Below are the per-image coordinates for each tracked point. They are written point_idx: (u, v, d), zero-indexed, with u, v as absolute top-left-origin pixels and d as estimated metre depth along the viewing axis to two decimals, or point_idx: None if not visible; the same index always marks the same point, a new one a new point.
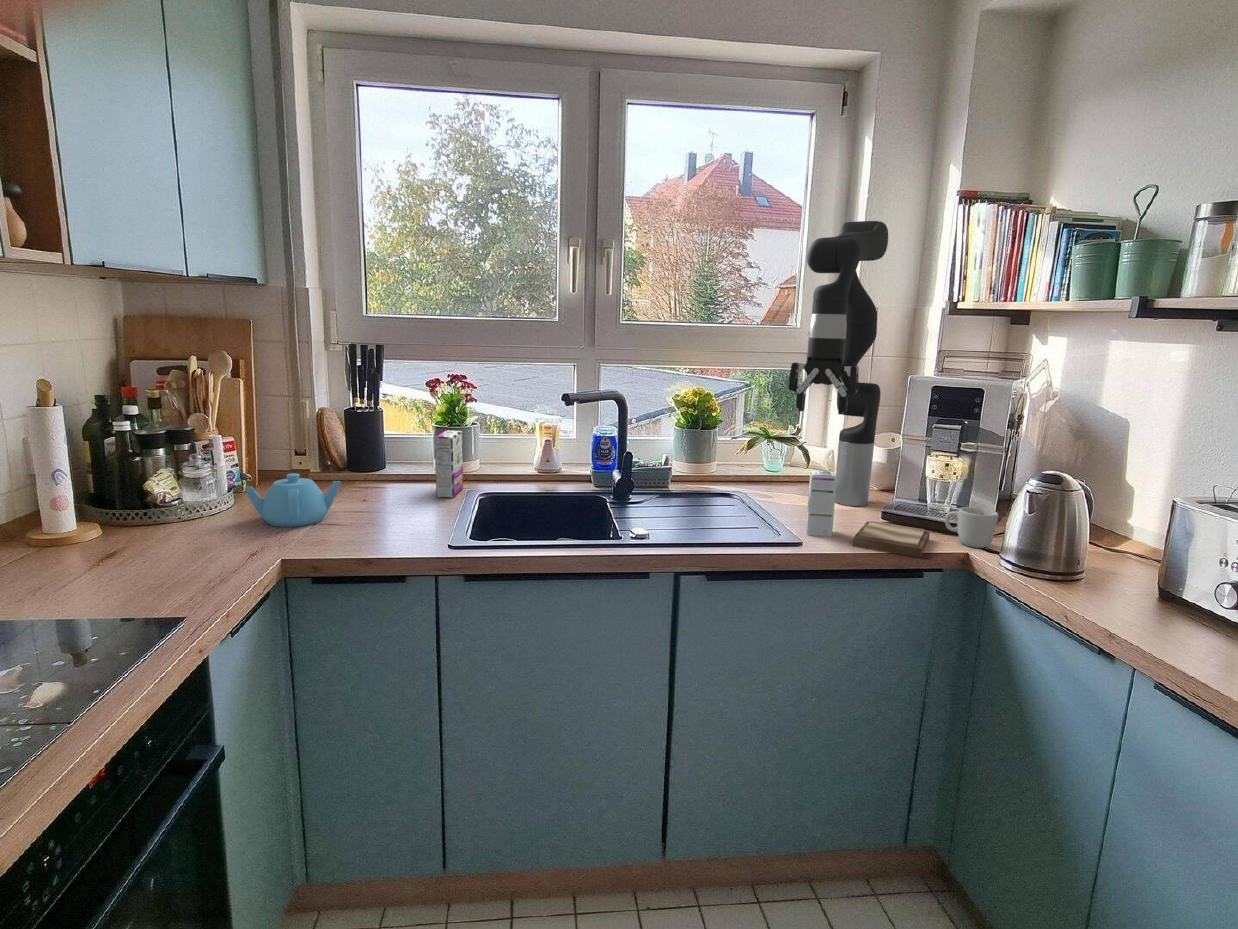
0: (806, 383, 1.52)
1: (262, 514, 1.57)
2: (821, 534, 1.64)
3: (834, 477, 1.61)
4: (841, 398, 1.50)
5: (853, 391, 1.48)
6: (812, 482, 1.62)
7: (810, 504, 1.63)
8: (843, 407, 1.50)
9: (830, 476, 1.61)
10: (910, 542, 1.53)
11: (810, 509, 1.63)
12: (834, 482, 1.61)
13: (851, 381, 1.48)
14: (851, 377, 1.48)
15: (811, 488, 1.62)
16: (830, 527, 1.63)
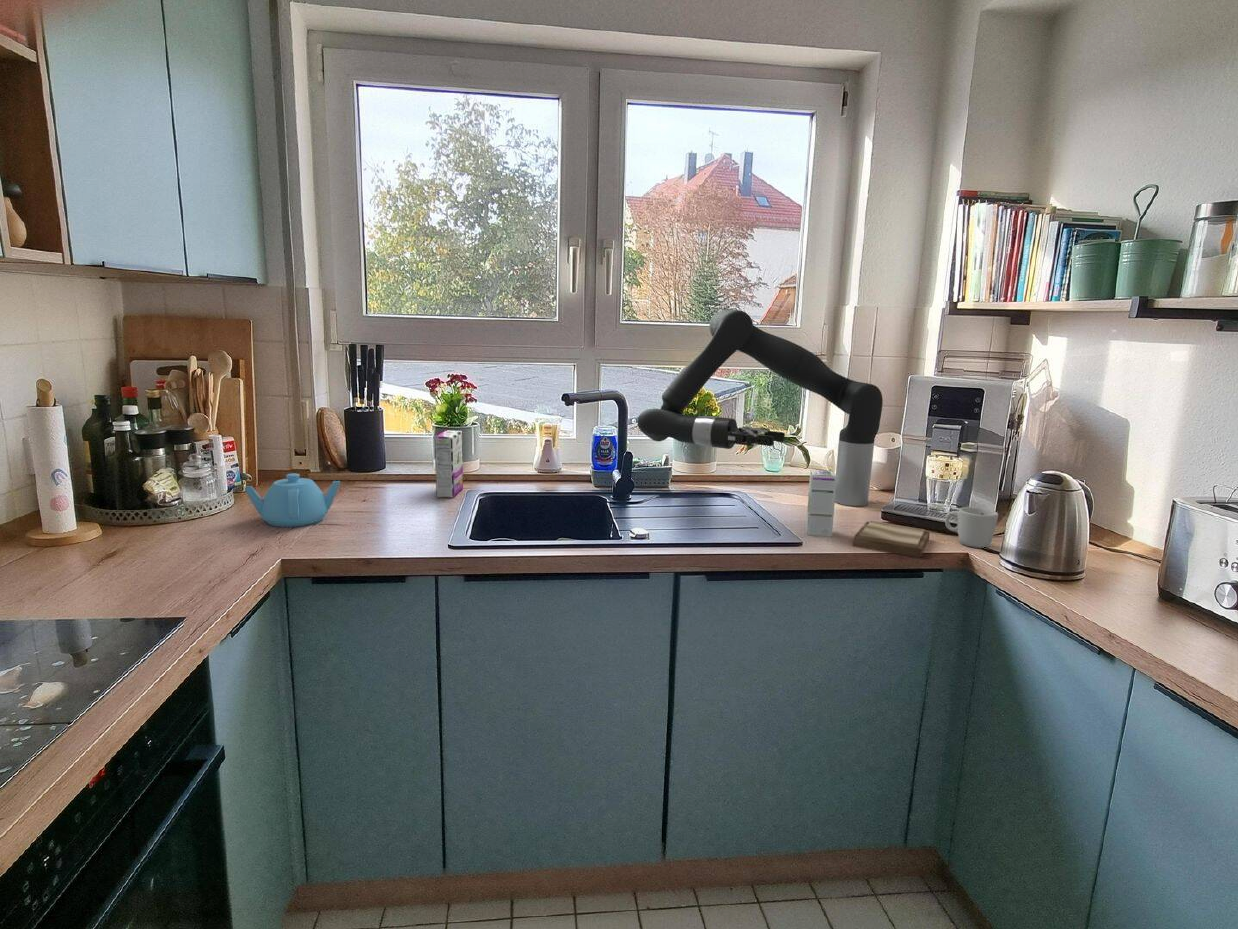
0: None
1: (262, 514, 1.57)
2: (821, 534, 1.64)
3: (834, 477, 1.61)
4: (758, 444, 1.66)
5: (748, 445, 1.65)
6: (812, 482, 1.62)
7: (810, 504, 1.63)
8: (765, 444, 1.64)
9: (830, 476, 1.61)
10: (910, 542, 1.53)
11: (810, 509, 1.63)
12: (834, 482, 1.61)
13: None
14: None
15: (811, 488, 1.62)
16: (830, 527, 1.63)
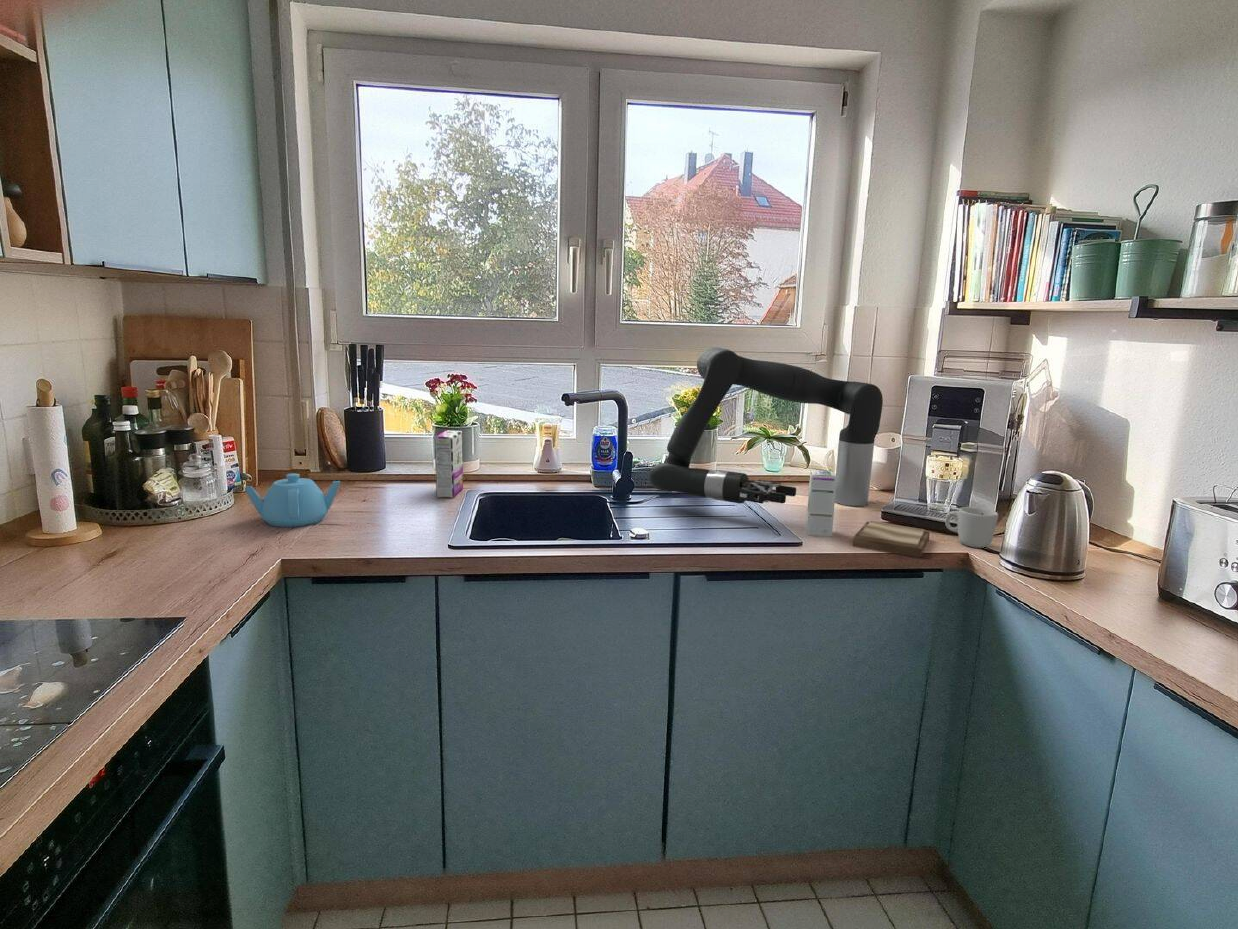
0: None
1: (262, 514, 1.57)
2: (821, 534, 1.64)
3: (834, 477, 1.61)
4: None
5: (760, 503, 1.66)
6: (812, 482, 1.62)
7: (810, 504, 1.63)
8: None
9: (830, 476, 1.61)
10: (910, 542, 1.53)
11: (810, 509, 1.63)
12: (834, 482, 1.61)
13: None
14: None
15: (811, 488, 1.62)
16: (830, 527, 1.63)
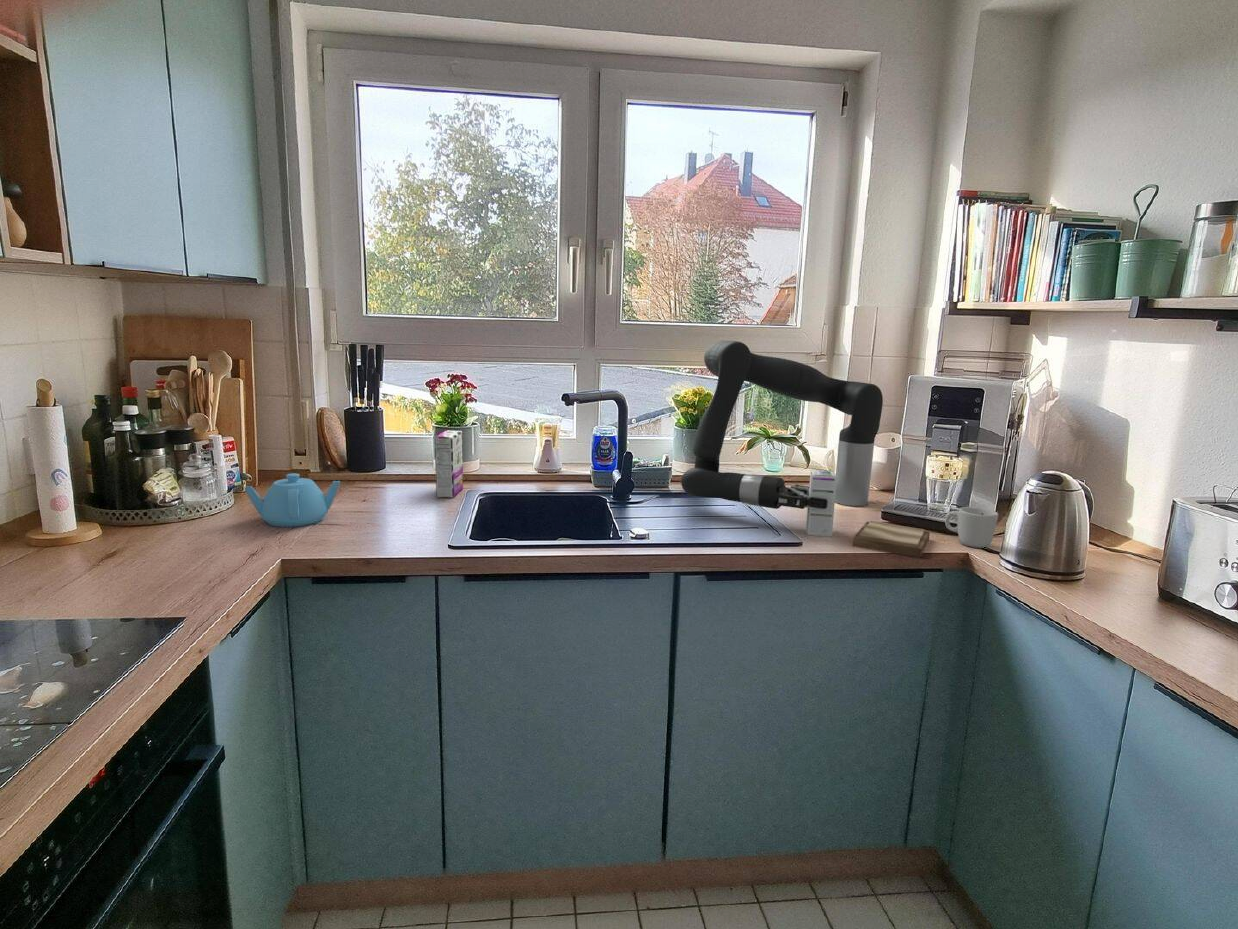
0: None
1: (262, 514, 1.57)
2: (821, 534, 1.64)
3: (834, 477, 1.61)
4: None
5: (801, 508, 1.61)
6: (812, 482, 1.62)
7: None
8: (819, 506, 1.61)
9: (830, 476, 1.61)
10: (910, 542, 1.53)
11: (810, 509, 1.63)
12: (834, 482, 1.61)
13: None
14: None
15: (811, 488, 1.62)
16: (830, 527, 1.63)
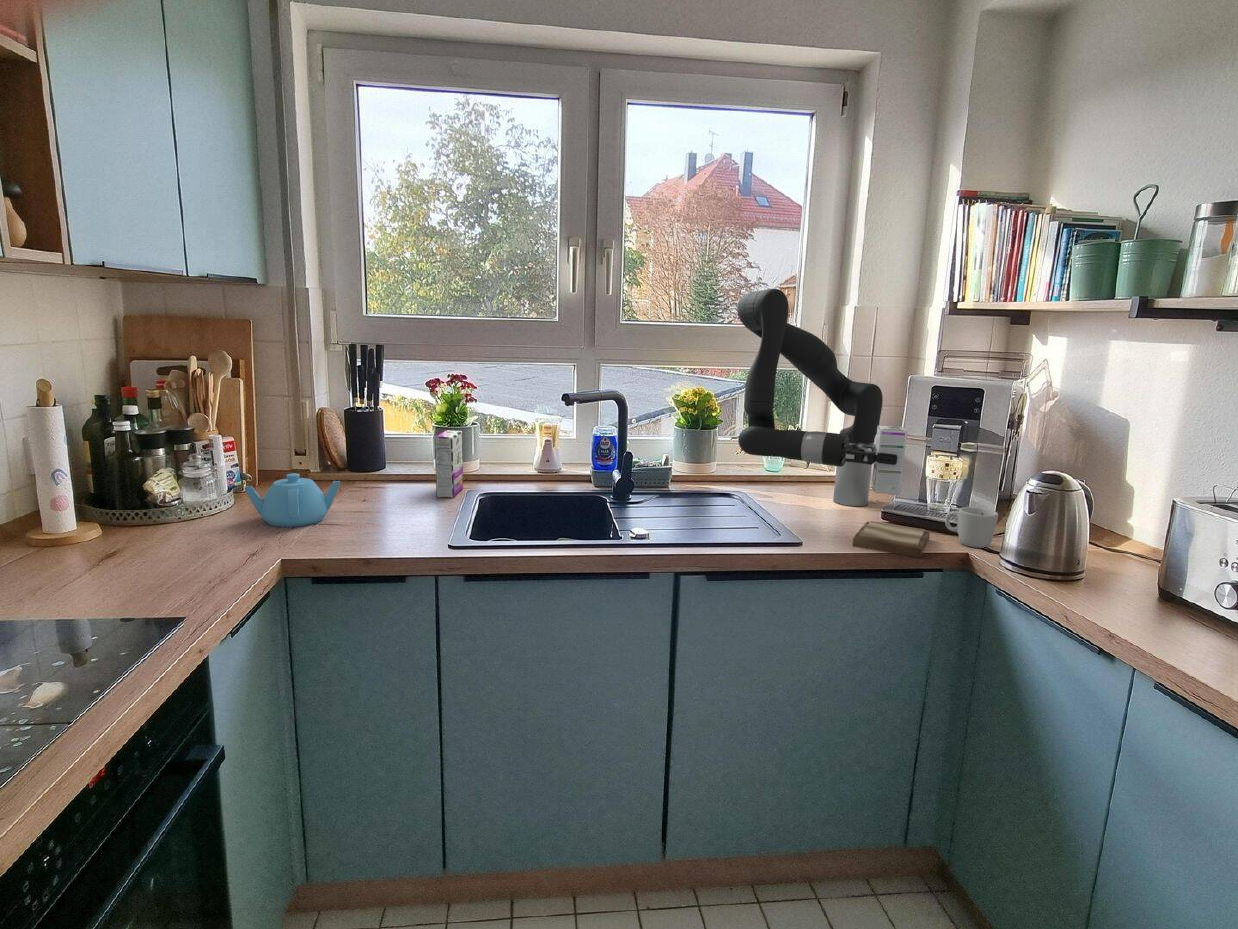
0: None
1: (262, 514, 1.57)
2: (889, 492, 1.56)
3: (904, 431, 1.53)
4: (879, 462, 1.55)
5: (869, 464, 1.54)
6: (881, 437, 1.55)
7: None
8: (888, 462, 1.54)
9: (900, 430, 1.54)
10: (910, 542, 1.53)
11: (878, 465, 1.56)
12: (904, 437, 1.54)
13: None
14: None
15: (880, 443, 1.55)
16: (899, 484, 1.56)
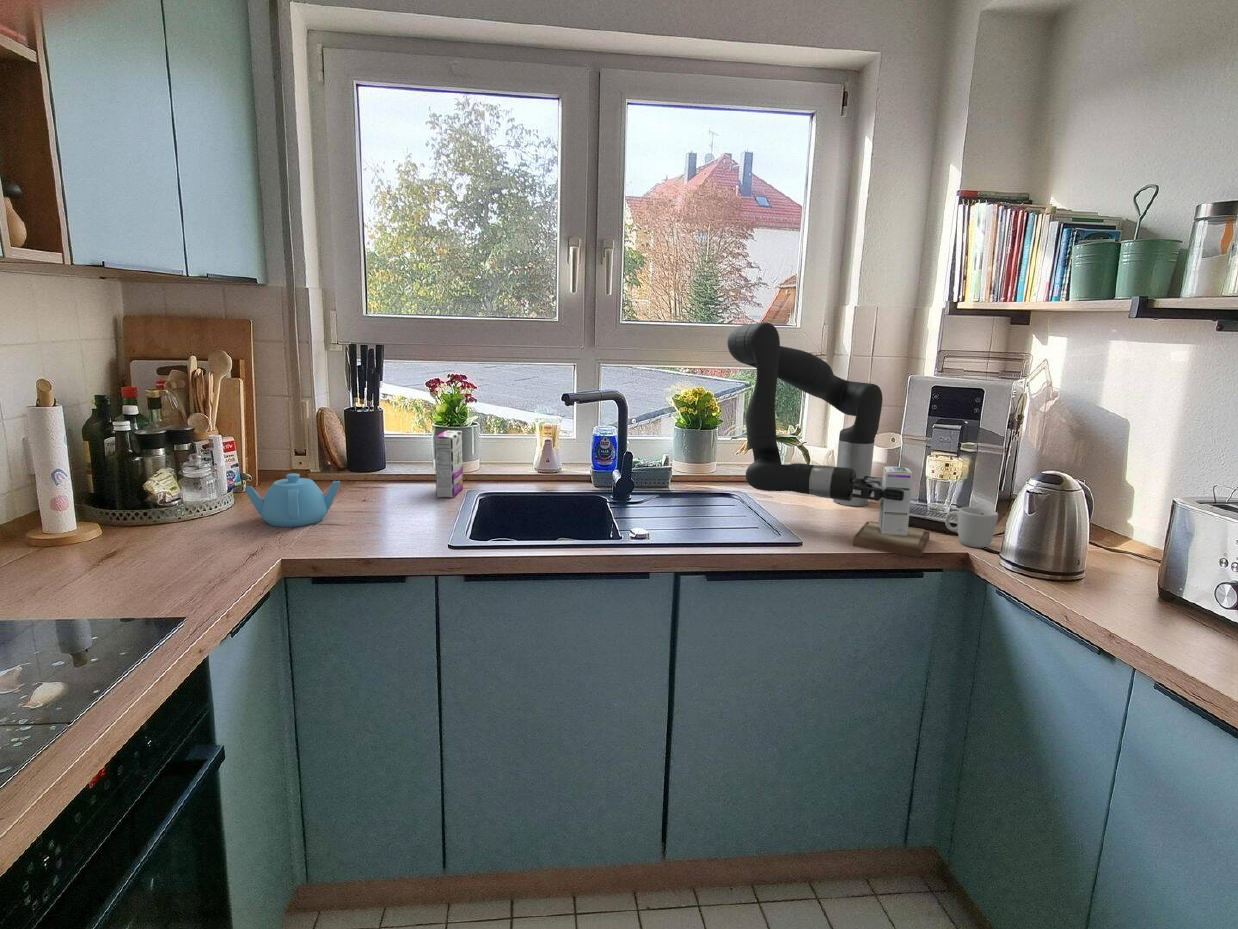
0: None
1: (262, 514, 1.57)
2: (896, 533, 1.57)
3: (910, 474, 1.54)
4: None
5: (876, 500, 1.54)
6: (887, 480, 1.55)
7: (884, 502, 1.57)
8: (895, 498, 1.54)
9: (906, 473, 1.54)
10: (910, 542, 1.53)
11: (884, 507, 1.57)
12: (910, 479, 1.54)
13: None
14: None
15: (885, 485, 1.56)
16: (905, 525, 1.57)
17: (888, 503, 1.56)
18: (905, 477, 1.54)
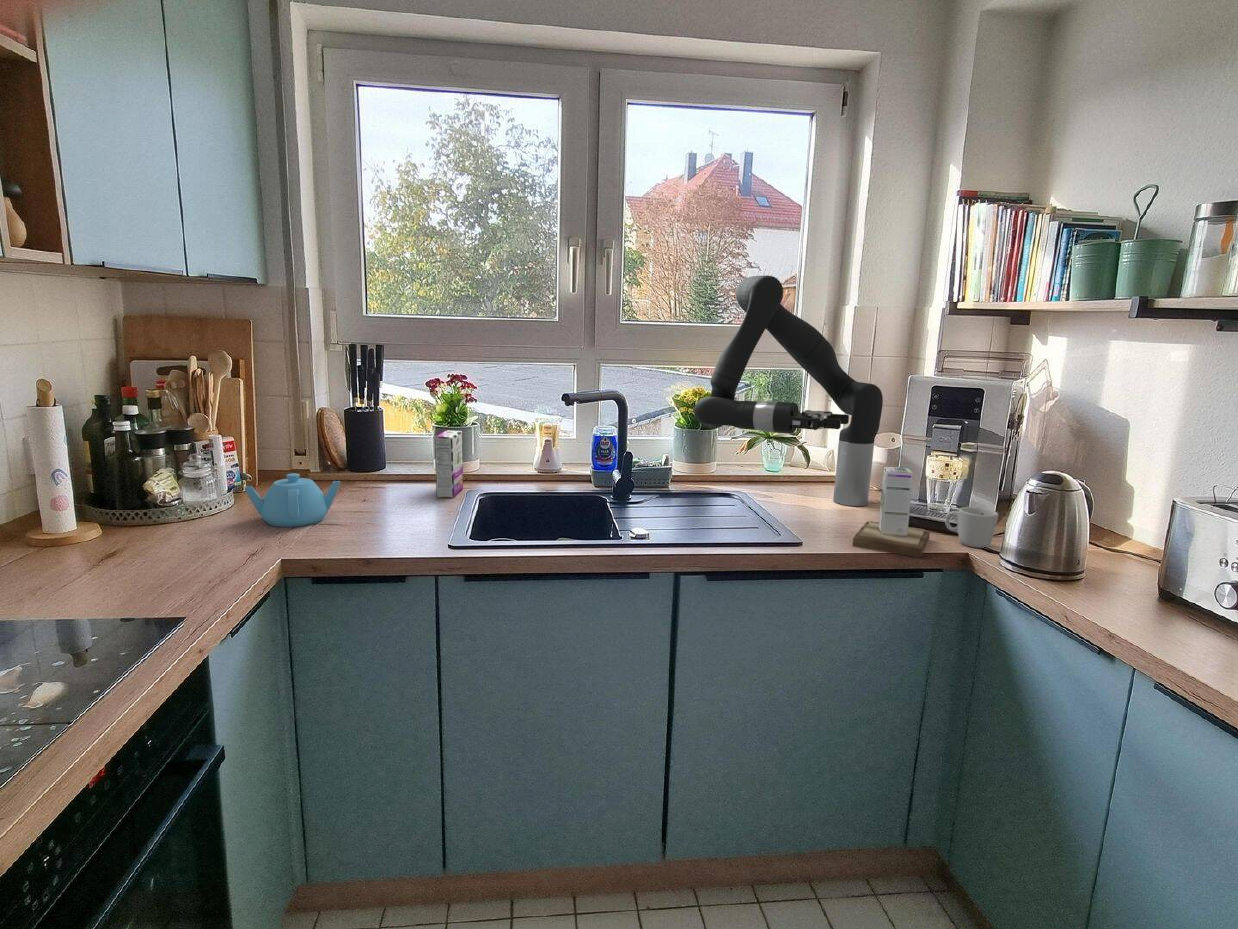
0: None
1: (262, 514, 1.57)
2: (896, 533, 1.57)
3: (911, 474, 1.54)
4: None
5: (814, 429, 1.60)
6: (887, 479, 1.56)
7: (885, 502, 1.57)
8: None
9: (906, 473, 1.55)
10: (910, 542, 1.53)
11: (884, 507, 1.57)
12: (911, 479, 1.55)
13: None
14: None
15: (886, 485, 1.56)
16: (905, 526, 1.57)
17: (888, 503, 1.57)
18: (905, 477, 1.55)
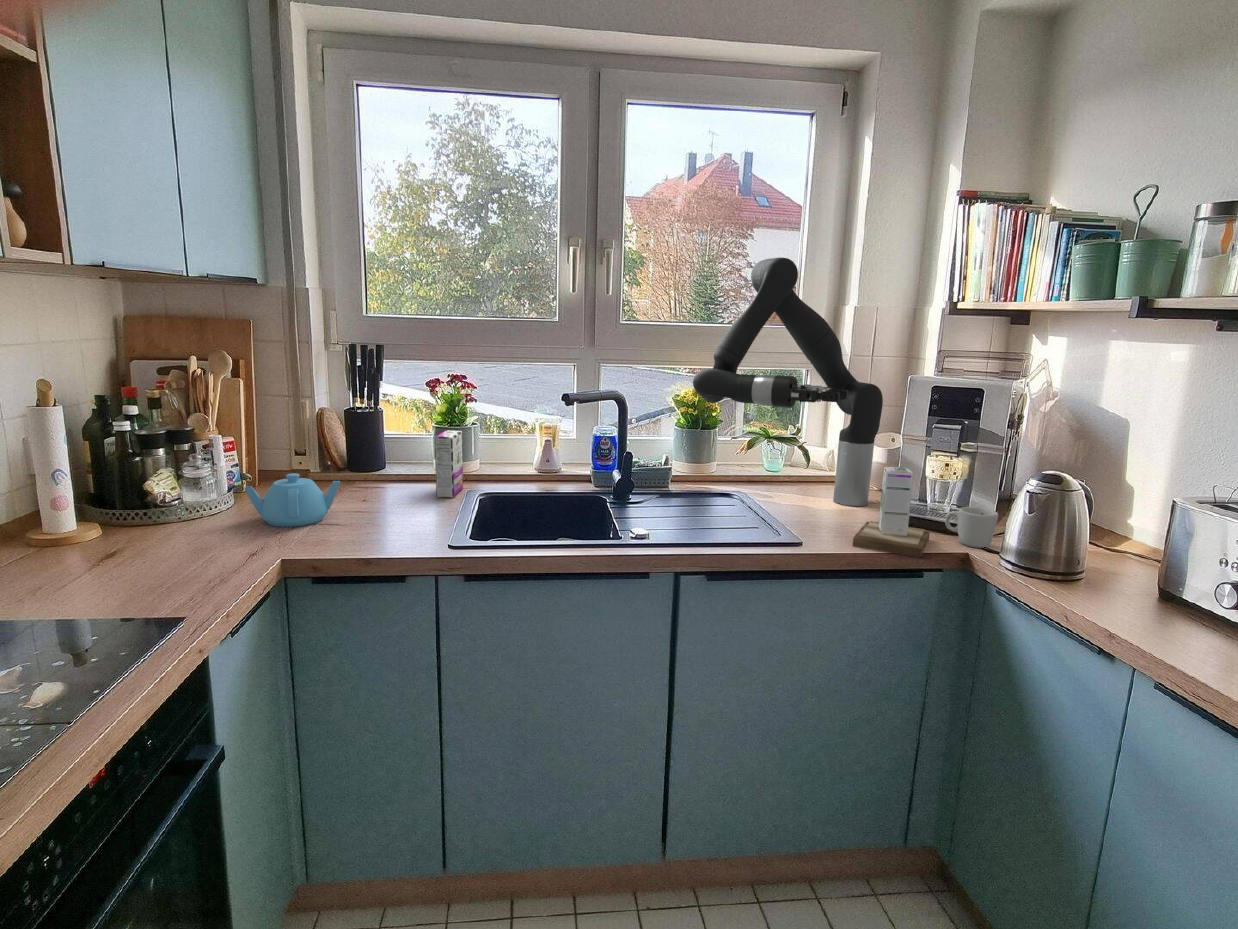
0: None
1: (262, 514, 1.57)
2: (896, 533, 1.57)
3: (911, 474, 1.54)
4: None
5: None
6: (887, 479, 1.56)
7: (885, 502, 1.57)
8: (831, 400, 1.60)
9: (906, 473, 1.55)
10: (910, 542, 1.53)
11: (884, 507, 1.57)
12: (911, 479, 1.55)
13: (804, 400, 1.61)
14: None
15: (886, 485, 1.56)
16: (905, 526, 1.57)
17: (888, 503, 1.57)
18: (905, 477, 1.55)
